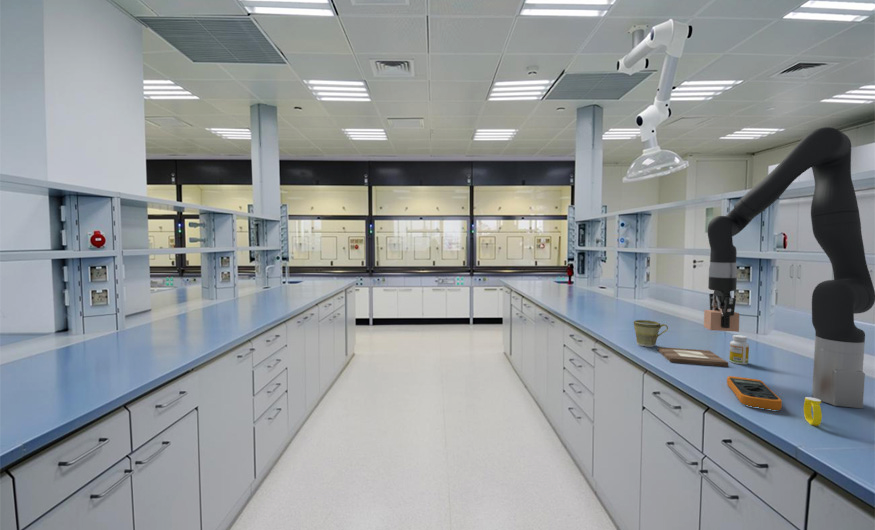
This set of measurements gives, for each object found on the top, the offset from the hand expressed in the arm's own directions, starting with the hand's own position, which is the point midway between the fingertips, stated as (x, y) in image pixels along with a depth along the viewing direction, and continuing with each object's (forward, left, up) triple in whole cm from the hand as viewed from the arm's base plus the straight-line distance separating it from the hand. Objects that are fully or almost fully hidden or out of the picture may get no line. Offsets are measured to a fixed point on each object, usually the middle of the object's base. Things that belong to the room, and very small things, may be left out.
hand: (720, 325), depth 127 cm
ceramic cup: (+30, +14, -16) cm, 37 cm away
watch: (-38, -5, -16) cm, 41 cm away
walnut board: (+14, +4, -15) cm, 21 cm away
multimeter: (-24, +1, -16) cm, 29 cm away
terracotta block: (0, 0, -1) cm, 1 cm away
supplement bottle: (+13, -11, -16) cm, 23 cm away
